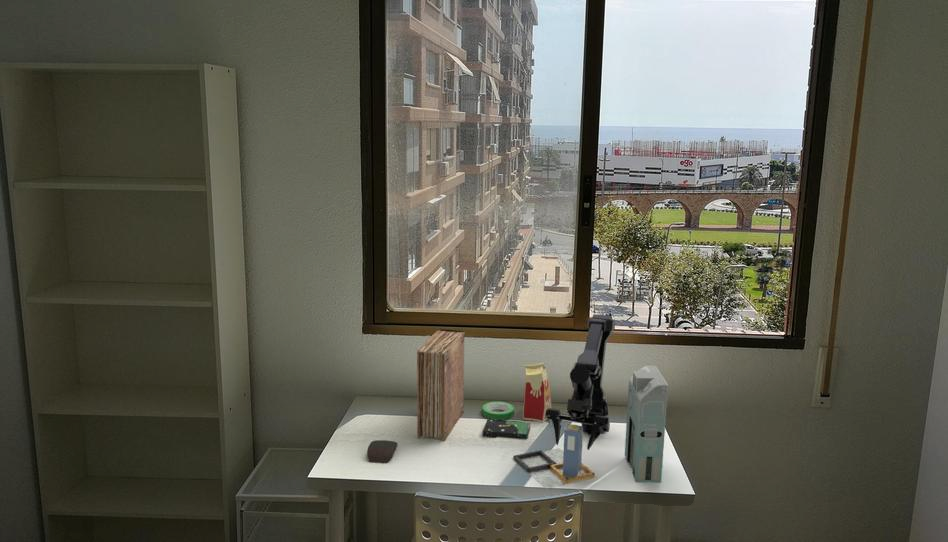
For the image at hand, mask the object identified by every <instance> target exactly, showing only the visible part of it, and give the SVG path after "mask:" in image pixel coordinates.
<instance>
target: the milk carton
mask: <svg viewBox="0 0 948 542" xmlns="http://www.w3.org/2000/svg"><path fill="white" fill-rule="evenodd" d="M523 367H524V368H525V385H524V396H523V397H524V398H523V399H524V400H523V410H522V420H523V421H531V420H534V421H533V422H536V421H540V422H539V423H541V422H544V421H545V420H546V417H545V413H546V410H547V409H548V408H551V409H552V399H551V398H552V397H551V391H550V390H551V389H550V384H549V383H550V382H549V380H548V379H549V378H548V374H547V370H546V367H545V362H541V363H536V364H523ZM546 421H547V420H546ZM546 421H545V422H546ZM545 422H544V423H545Z"/></svg>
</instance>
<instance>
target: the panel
mask: <svg viewBox="0 0 948 542" xmlns="http://www.w3.org/2000/svg"><path fill="white" fill-rule="evenodd" d="M563 455H564V450H562V449H561V448H554V449H550V450H545V451H544V450H542V449H541V450H535V451H529V452H526V453H520V454H514V455H513V457H511V459H512V460H513V461H514V462H515V463H516V464H517V465H519V467H521V468H522V469H523V470H525V471H526V472H527V473H528V474H529V475H530V476H531V477H532V478H534V480H536V481H537V482H538V484H540V485H541V486H542V487H543V488H545V489H549V488H550V489H551V488H556V487H558V486H559V487H560V486H564V485H569V484H573V483H577V482H582V481H587V480H591V479H596V478H597V476H595V472H594V471H592V470H591V469H590V468H588V467H587V466H586V465H584V463H582V462H581V471H580V473H579V475H577V476H569V475H564V474H563Z"/></svg>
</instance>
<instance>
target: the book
mask: <svg viewBox="0 0 948 542" xmlns="http://www.w3.org/2000/svg"><path fill="white" fill-rule="evenodd" d="M416 356H417V357H416V360H417V361H416V362H417V363H416V364H417V365H416V371H417V372H416V374H417V375H416V377H417V379H416V382H417V383H416V385H417V386H416V389H417V391H416V393H417V394H416V396H417V397H416V400H417V402H416V405H417V406H416V412H417V413H416V416H417V417H416V418H417V419H416V420H417V421H416V422H417V425H416V426H417V427H416V428H417V429H416V431H417V432H416V433H417V439H420V438H429V439H430V438H431V439H437V440H438V439H439V440H442V442H445V441H446V440H447V438H448V437H449V435H450V434H451V433H452V432H453V429H454V428H455V426H456V425H457V424H458V422H459V420H460V418H461V417H462V416H463V414H464V411H465V409H464V407H465V395H464V392H465V330H453V329H445V328H444V329H443V328H438V329H437V330H436V331H435V332H434V333H433V334H432V335H431V336H430V337H429V339H428V340H426V341H425V342H424V343H423V344H422V345H421V346H420V347H419V348H418V349H417V352H416ZM457 421H458V422H457ZM455 424H456V425H455Z"/></svg>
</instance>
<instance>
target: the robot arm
mask: <svg viewBox="0 0 948 542" xmlns="http://www.w3.org/2000/svg"><path fill="white" fill-rule="evenodd" d="M586 326H587V327H586V329H588V334H587V336H586V343H585V346H584V349H583V352H582V353H581V354H579V355H578V357H577V361H576V362H574V364H573V367H572V368H571V371H570V372H569V378H570V382H571V385H572V388H573V391H572V395H571V399H570V398H568V399H567V405H566V406H567V407H566V411H567V414H564V413H561V410H560V409H557V408H552V407H551V408H548V409H547V410H546V413H545V417H546V422H547V423H548V424H550V426H551V427H553V429H554V436H555V437H554V438H555V445H556V446H558V445H559V443H560V436H561V435H560V434H561V429H562V428H561V427H562V426H561V423H562V421H563V422H569V423H577V424H581V426H583V432H585V433H586V434H588V435H589V438H588V439H589V440H588V441H587V445H586V446H587V448H586V450H588V451H589V450H590V449H591V447H592V446H593V444H594V443H595V442H596V440H597V439H598V438H599V437H600V436H601V435H604V434H605V433H609V432H610V428H611V423H610V418H609V417H608V416H609V404H608V402H607V401H608V400H607V398H606V393H605V390H604V388H603V376H604V367H605V366H604V365H605V360H606V359H605V358H606V346H607V342H608V341H609V340H610V338H611V337H612V335H613V332H614V330H615V328H616V327H615V326H616V320H615V319H613V317H612V316H611V315H606V314H592V316H590V317H587V325H586Z"/></svg>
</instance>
